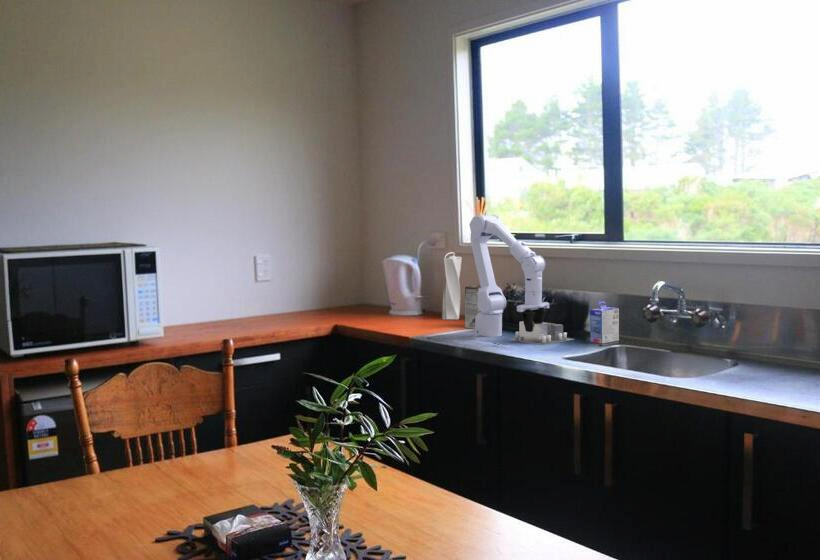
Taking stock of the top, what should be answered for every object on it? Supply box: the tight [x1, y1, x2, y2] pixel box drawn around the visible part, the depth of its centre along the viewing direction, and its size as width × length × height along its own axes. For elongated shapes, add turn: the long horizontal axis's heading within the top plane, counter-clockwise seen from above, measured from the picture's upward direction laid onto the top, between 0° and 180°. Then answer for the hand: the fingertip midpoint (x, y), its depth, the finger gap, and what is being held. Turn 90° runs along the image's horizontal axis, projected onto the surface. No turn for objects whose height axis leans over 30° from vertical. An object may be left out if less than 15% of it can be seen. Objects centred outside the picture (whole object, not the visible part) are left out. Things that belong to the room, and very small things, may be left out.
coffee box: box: [464, 284, 490, 330], centre depth 309 cm, size 9×6×16 cm
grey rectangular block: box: [518, 320, 548, 339], centre depth 271 cm, size 9×4×5 cm, turn 40°
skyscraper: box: [441, 251, 463, 321], centre depth 332 cm, size 8×8×28 cm
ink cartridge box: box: [589, 300, 620, 347], centre depth 271 cm, size 10×6×14 cm, turn 130°
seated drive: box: [542, 321, 564, 340], centre depth 277 cm, size 9×4×5 cm, turn 40°
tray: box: [507, 331, 576, 346], centre depth 275 cm, size 15×18×4 cm
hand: (533, 330), depth 271 cm, fingers closed on grey rectangular block, 4 cm apart
